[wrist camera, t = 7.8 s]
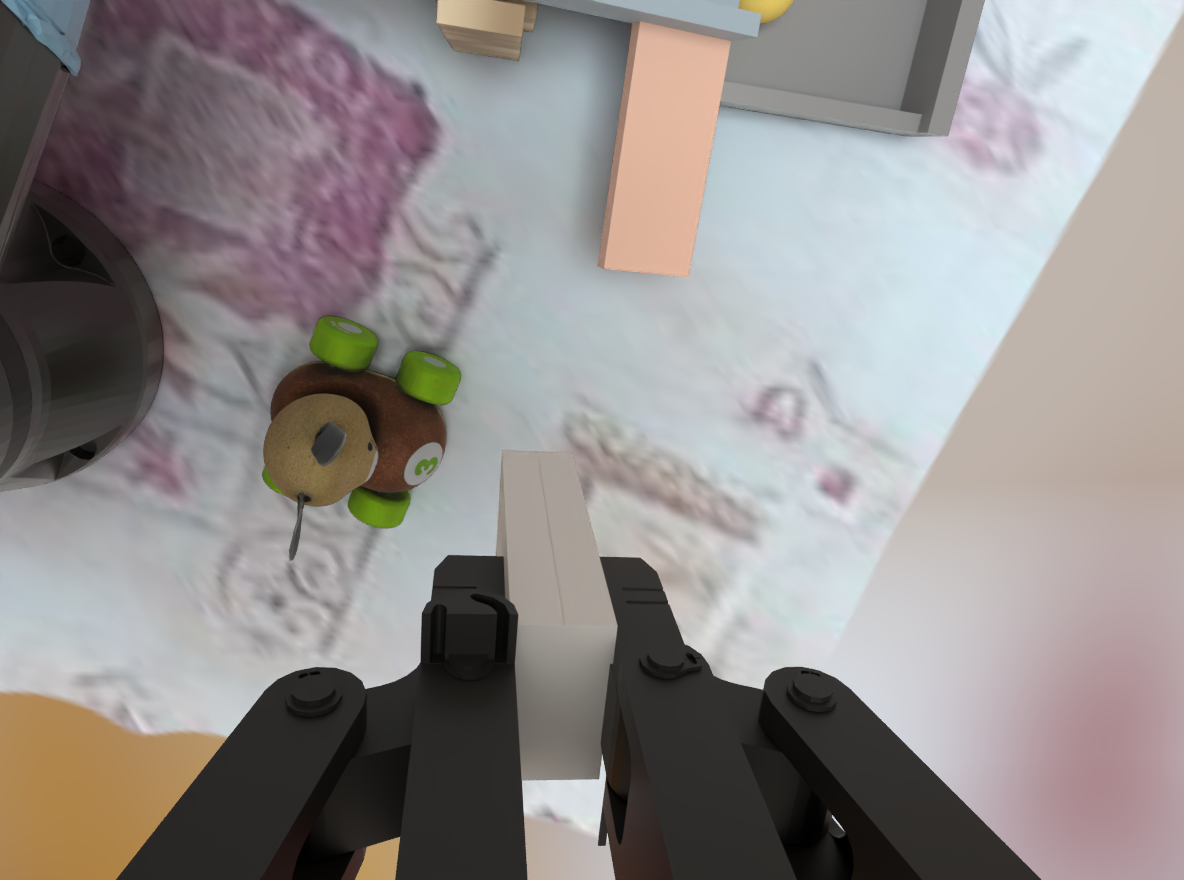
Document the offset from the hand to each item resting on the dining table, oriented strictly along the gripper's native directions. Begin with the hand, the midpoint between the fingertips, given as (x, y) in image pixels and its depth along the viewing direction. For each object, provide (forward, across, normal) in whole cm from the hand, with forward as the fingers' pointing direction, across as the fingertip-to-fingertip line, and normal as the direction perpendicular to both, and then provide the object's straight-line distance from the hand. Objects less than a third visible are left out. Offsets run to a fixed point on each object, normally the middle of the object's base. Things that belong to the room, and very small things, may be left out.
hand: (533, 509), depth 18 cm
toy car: (+26, -7, -7) cm, 28 cm away
